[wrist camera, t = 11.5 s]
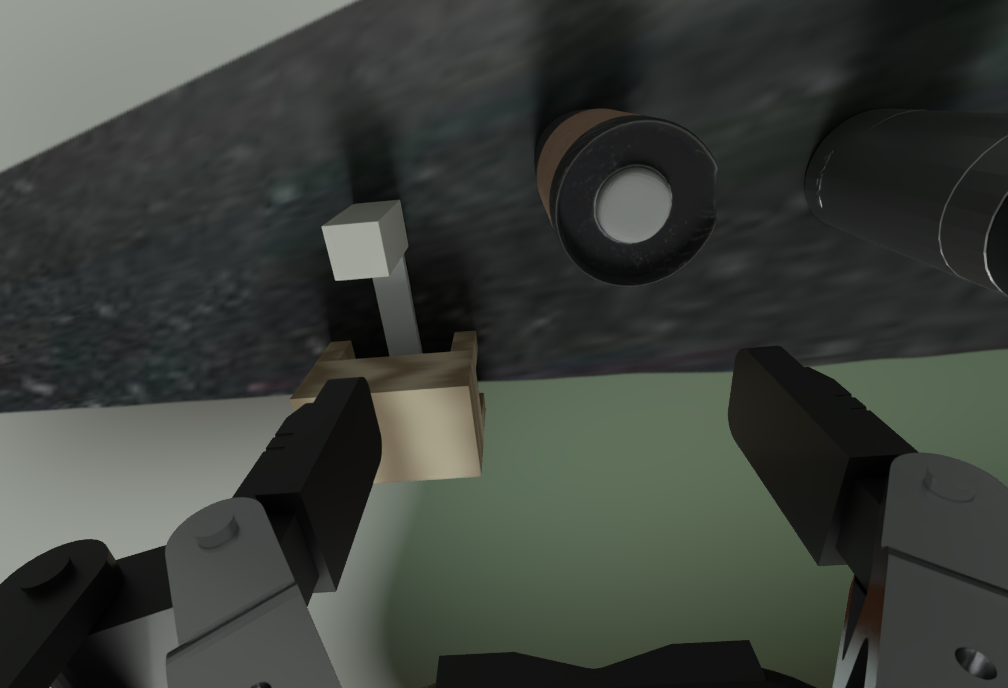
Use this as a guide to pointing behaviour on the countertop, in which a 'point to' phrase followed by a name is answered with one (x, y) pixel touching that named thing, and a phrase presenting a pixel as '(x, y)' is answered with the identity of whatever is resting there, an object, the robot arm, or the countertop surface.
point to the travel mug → (626, 193)
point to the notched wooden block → (415, 407)
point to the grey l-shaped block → (377, 265)
